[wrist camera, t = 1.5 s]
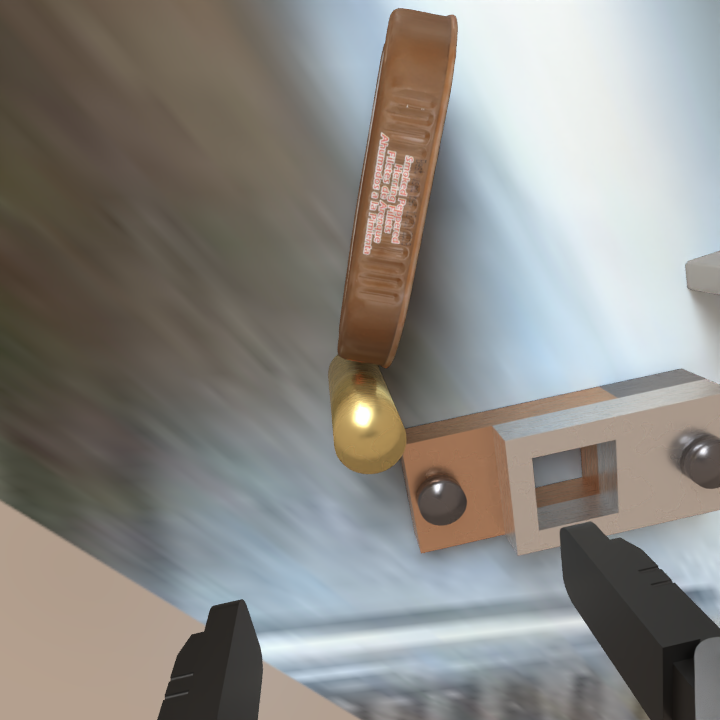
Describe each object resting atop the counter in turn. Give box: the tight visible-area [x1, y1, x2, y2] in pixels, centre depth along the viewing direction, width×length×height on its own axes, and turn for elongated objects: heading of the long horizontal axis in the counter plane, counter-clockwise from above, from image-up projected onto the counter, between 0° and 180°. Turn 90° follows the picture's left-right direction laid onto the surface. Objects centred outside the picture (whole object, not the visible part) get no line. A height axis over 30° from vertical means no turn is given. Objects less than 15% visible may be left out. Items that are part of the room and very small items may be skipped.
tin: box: [338, 8, 458, 368], centre depth 22 cm, size 15×3×8 cm, turn 171°
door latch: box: [401, 369, 720, 556], centre depth 29 cm, size 8×18×5 cm, turn 101°
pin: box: [328, 354, 407, 474], centre depth 24 cm, size 3×3×9 cm
